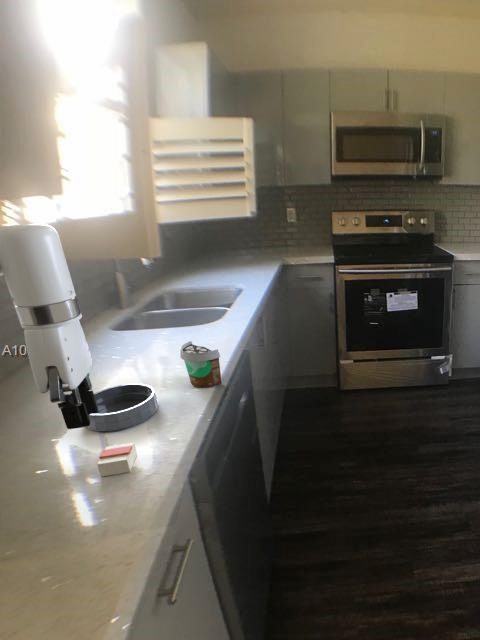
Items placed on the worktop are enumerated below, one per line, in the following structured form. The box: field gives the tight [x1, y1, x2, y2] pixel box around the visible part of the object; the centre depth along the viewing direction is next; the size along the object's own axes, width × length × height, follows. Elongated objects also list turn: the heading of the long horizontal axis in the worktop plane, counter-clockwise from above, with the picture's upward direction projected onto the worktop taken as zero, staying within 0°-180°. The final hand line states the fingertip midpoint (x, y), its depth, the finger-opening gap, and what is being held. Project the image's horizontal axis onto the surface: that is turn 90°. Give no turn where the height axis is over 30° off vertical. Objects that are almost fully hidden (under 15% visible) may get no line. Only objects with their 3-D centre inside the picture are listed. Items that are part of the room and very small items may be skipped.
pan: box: [86, 383, 159, 432], centre depth 105 cm, size 15×15×4 cm
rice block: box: [97, 442, 138, 478], centre depth 87 cm, size 5×6×3 cm
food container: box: [179, 340, 223, 389], centre depth 118 cm, size 12×6×10 cm, turn 55°
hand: (83, 419), depth 74 cm, fingers open, 3 cm apart
